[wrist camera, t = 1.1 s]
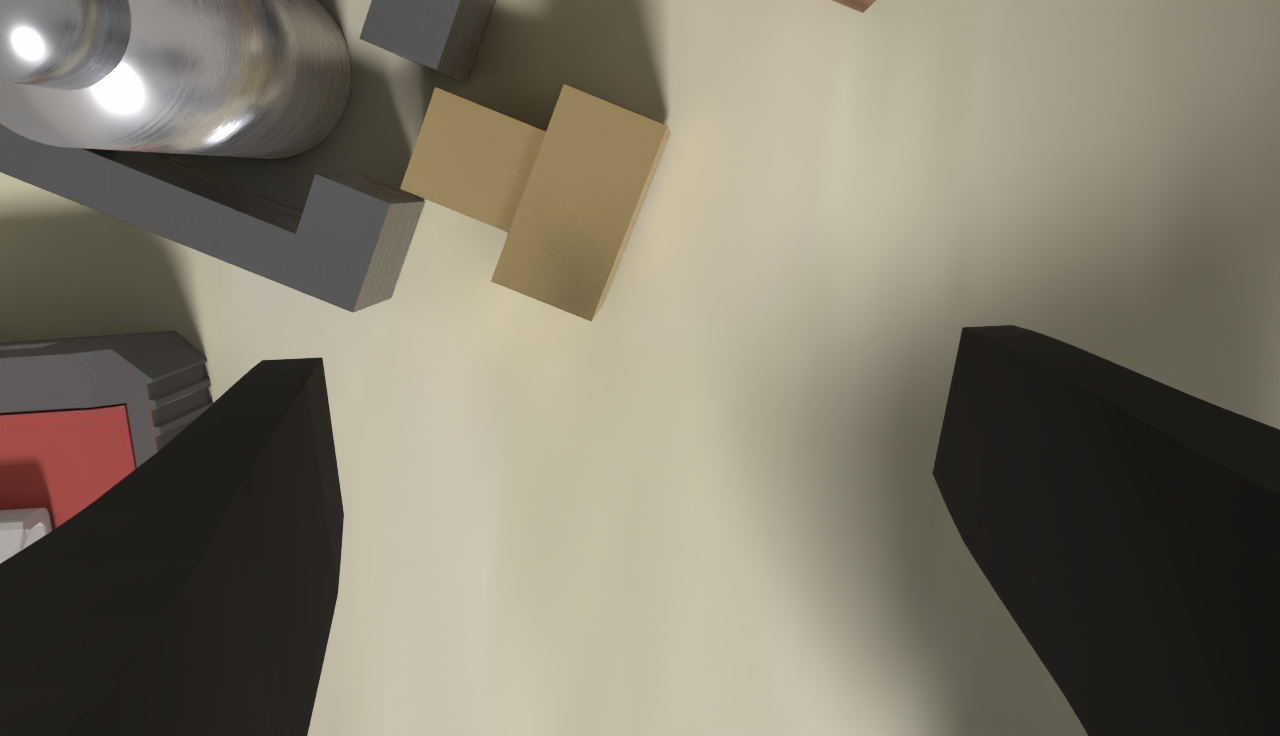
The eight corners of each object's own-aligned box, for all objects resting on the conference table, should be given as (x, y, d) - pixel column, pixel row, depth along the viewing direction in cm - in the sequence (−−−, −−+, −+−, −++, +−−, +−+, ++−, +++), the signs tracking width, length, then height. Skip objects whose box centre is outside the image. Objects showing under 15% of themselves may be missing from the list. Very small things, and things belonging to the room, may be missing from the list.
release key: (670, 133, 21) (667, 126, 18) (602, 305, 21) (591, 321, 19) (472, 53, 21) (443, 35, 18) (411, 228, 21) (375, 234, 19)
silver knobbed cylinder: (374, 19, 21) (163, -91, 12) (320, 184, 21) (85, 186, 13) (210, -48, 21) (-114, -203, 12) (160, 121, 21) (-179, 81, 13)
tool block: (503, -23, 21) (477, -50, 18) (391, 297, 22) (353, 312, 19) (155, -164, 20) (82, -211, 18) (62, 166, 22) (-18, 164, 19)
